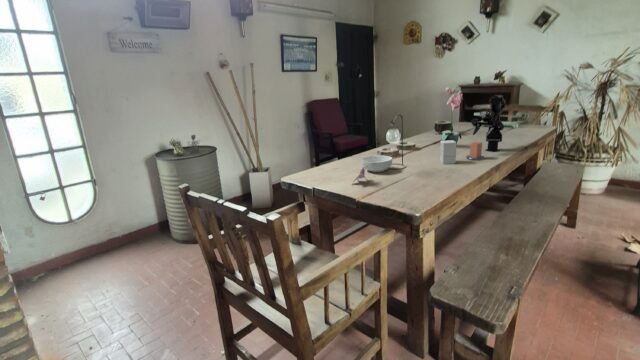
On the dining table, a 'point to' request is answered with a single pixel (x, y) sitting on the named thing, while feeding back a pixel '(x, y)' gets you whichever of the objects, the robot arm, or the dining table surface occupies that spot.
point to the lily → (361, 174)
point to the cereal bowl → (377, 163)
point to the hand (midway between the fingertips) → (480, 135)
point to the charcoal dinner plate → (475, 158)
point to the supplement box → (448, 152)
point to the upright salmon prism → (475, 149)
